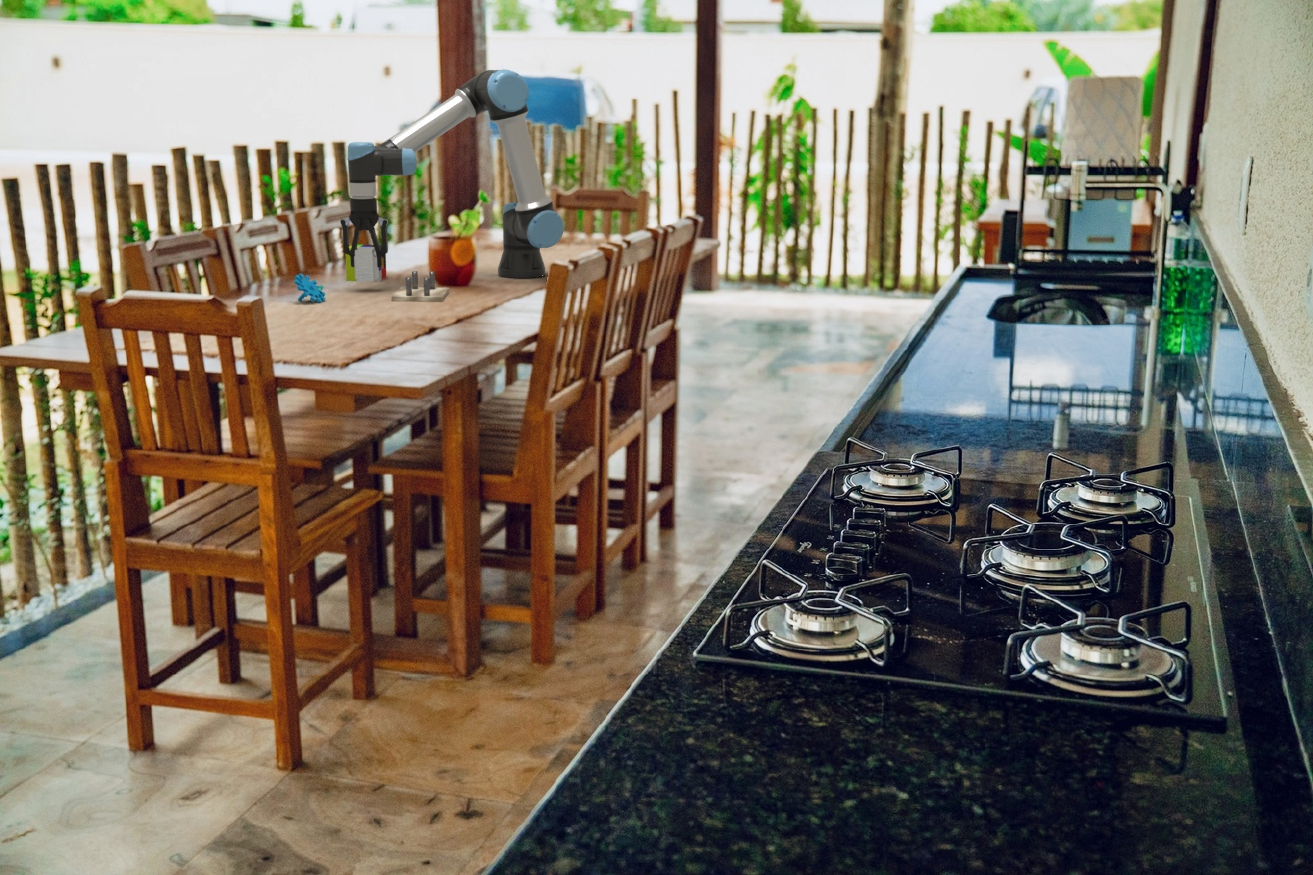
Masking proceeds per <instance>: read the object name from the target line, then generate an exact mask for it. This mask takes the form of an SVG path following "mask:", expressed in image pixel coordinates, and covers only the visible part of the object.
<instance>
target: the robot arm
mask: <svg viewBox="0 0 1313 875" xmlns="http://www.w3.org/2000/svg"><path fill="white" fill-rule="evenodd" d="M454 91H455V92H454V95H452V96H451V97H450V98H447V100H445V101H443V102H442V103H441V104H439V105H438V106H436V107H434V108H433V109H431V110H430V111H428V112H427V113H426V114H424V115H422V116H421V117H419V118H418V119H416V120H415V121H413V122H412V123H410V124H409V125H408V126H406V127H405V128H403V129H401V130H400V131H399V132H397V133H396V134H394V135H392V136H391V137H389V138H388V139H386V140H385V141H383V142H382V143H380V144H379V145H375V143H373V142H371V141H370V142H369V141H365V142H363V141H353V142H349V143H348V145H347V158H346V159H347V160H346V161H347V169H348V189H349V197H351V198H350V199H349V207H350V214H349V216H348V217H347V218H342V219H340V221H339V222H340V224H341V225H340V226H341V227H342V241H343V242H342V243H343V244H342V245H343V246H342V247H343V248H342V249H343V254H345V255H346V254H348V255H350V258H351V267H355V279H356V263H355V250H356V249H357V245H359V244H358V243H359V240H360V234H361V231H363V230H364V231H368V232H369V235H370V238H371V241H372V245H374V248H375V252H376V256H374V266H375V279H378V278H379V267H382V255H384V254H386V255H387V253H388V252H389V246H388V229H387V228H388V223H389V219H388V218H382V217H380V215H379V214H378V199H377V198H376V196H377V180H376V179H377V178H376V177H380V176H381V177H382V176H403V177H405V176H411V175H414V174H415V173H416V171H417V166H418V160H417V155H416V153H417V152H419V150H421V149H423V148H424V147H426V146H427V145H429V144H430V143H432V142H433V141H435V140H437V139H438V138H439V137H441V136H442V135H444V134H445V133H447V132H449V130H451V129H453V128H454V127H456V126H457V125H459V124H460V123H462V122H463V121H464V120H466V119H468V118H475V117H477V116H478V115H480V114H482V113H485V112H487V111H488V114H489V116H488V117H489V119H490V122H492V123H493V124H494V125H496V127H497V129H498V133H499V136H500V140H501V144H502V148H503V152H504V155H505V159H506V162H507V166H508V170H509V173H510V177H511V180H512V184H513V187H514V192H515V194H516V199H517V202H507V203H505V204H504V205H503V207H502V238H503V239H502V240H503V241H502V245H503V246H502V247H503V248H502V249H503V251H502V254H501V257H500V261H499V264H498V267H497V268H498V269H497V275H498V276H500V277H503V278H511V279H512V278H513V279H532V278H531V277H536V278H540V277H539V276H542V275H543V276H542V277H545V276H546V266H545V263H544V259H543V256H542V253H541V249H548V248H551V247H553V246H555V245H557V244H558V243H559V242H560V241H561V239H562V237H563V235H564V231H565V230H564V229H565V224H564V220H563V219H562V217H561V216H560V214H559V213H558V212H556V211H555V208H554V207H555V206H554V203H553V199H552V198H551V197H549V196H547V195H546V193H545V188H544V185H543V181H542V178H541V173H540V170H539V166H538V163H537V158H536V155H535V151H534V148H533V142H532V140H531V135H530V132H529V128H528V124H527V121H526V117H527V115H528V113H529V108H528V104H527V102H528V99H529V96H530V95H529V94H530V92H529V85H528V83H527V82H526V80H525V79H524V77H523V76H522V75H521V74H519V73H517V72H516V71H513V70H510V69H504V68H503V69H488V70H484V71H481V72H479V73H478V74H477V75H475V76H474V77H472V78H471V79H469V80H468V81H466V82H465V83H464V84H463V85H461V86H460V87H458V88H456V90H454ZM378 222H379V226H380V227H381V228H380V230H381V231H380V232H381V244H380V243H379V242H380V241H379V240H378V236H377V232H376V228H375V227H376V225H377V224H378ZM350 223H351V224H352V225H353V226H354V234H353V237H352V242H351V245H352V247H351V250H349V246H350V235H349V232H350V231H349V226H350ZM380 245H382V250H381V248H380ZM544 275H545V276H544Z"/></svg>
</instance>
